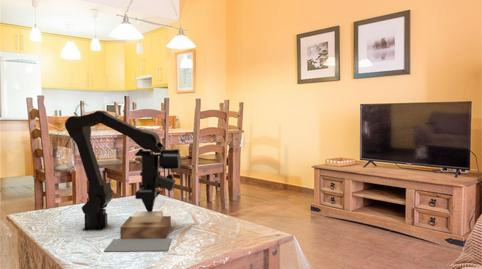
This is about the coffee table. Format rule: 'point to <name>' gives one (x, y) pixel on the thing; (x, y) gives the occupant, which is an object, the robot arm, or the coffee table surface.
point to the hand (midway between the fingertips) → (150, 213)
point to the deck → (145, 229)
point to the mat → (138, 245)
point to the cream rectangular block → (147, 216)
